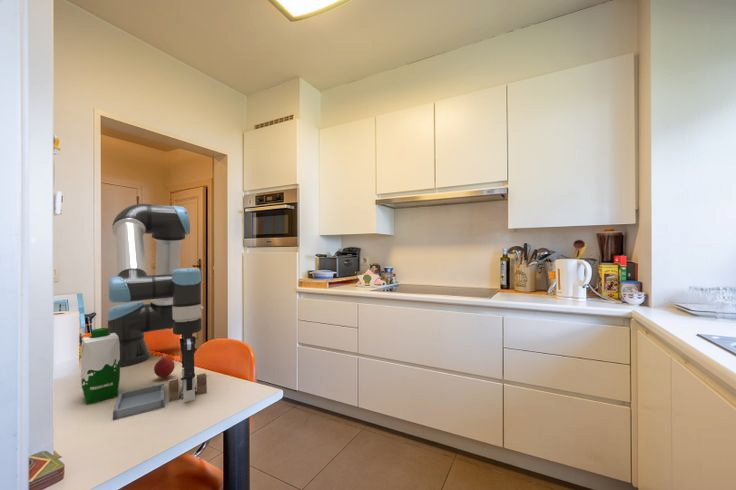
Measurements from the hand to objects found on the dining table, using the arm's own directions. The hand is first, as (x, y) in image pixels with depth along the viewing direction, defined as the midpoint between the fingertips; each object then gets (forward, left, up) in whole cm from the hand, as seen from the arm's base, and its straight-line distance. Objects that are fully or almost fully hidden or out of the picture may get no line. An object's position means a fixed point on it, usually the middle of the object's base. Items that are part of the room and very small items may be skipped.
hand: (188, 394), depth 92 cm
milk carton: (-15, -22, 0) cm, 27 cm away
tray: (-2, -12, 0) cm, 12 cm away
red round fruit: (-20, -6, 0) cm, 21 cm away
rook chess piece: (0, 0, 0) cm, 0 cm away
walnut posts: (0, 0, 0) cm, 0 cm away
